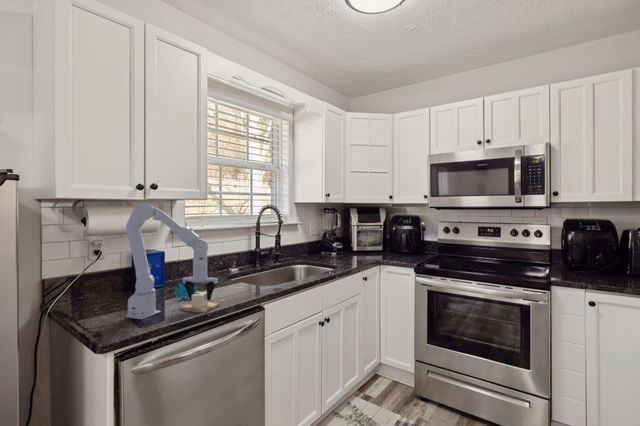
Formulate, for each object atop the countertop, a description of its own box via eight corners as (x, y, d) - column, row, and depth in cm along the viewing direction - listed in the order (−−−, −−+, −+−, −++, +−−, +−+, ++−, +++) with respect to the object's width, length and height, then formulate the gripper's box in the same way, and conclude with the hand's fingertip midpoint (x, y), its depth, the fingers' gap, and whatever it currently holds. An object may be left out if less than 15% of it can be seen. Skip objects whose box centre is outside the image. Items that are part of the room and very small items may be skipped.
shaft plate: (204, 312, 132) (204, 304, 132) (180, 309, 136) (180, 301, 135) (219, 305, 141) (219, 297, 141) (196, 303, 145) (196, 295, 145)
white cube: (208, 303, 141) (208, 291, 140) (203, 307, 136) (203, 295, 135) (197, 303, 141) (197, 291, 141) (191, 307, 136) (191, 294, 136)
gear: (169, 296, 149) (180, 278, 155) (173, 303, 153) (183, 284, 160) (193, 301, 148) (202, 282, 154) (196, 307, 152) (205, 288, 159)
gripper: (178, 269, 135) (179, 301, 135) (212, 269, 133) (212, 303, 134) (187, 266, 142) (187, 297, 142) (219, 266, 140) (219, 298, 141)
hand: (200, 299), depth 138 cm, fingers open, 7 cm apart
